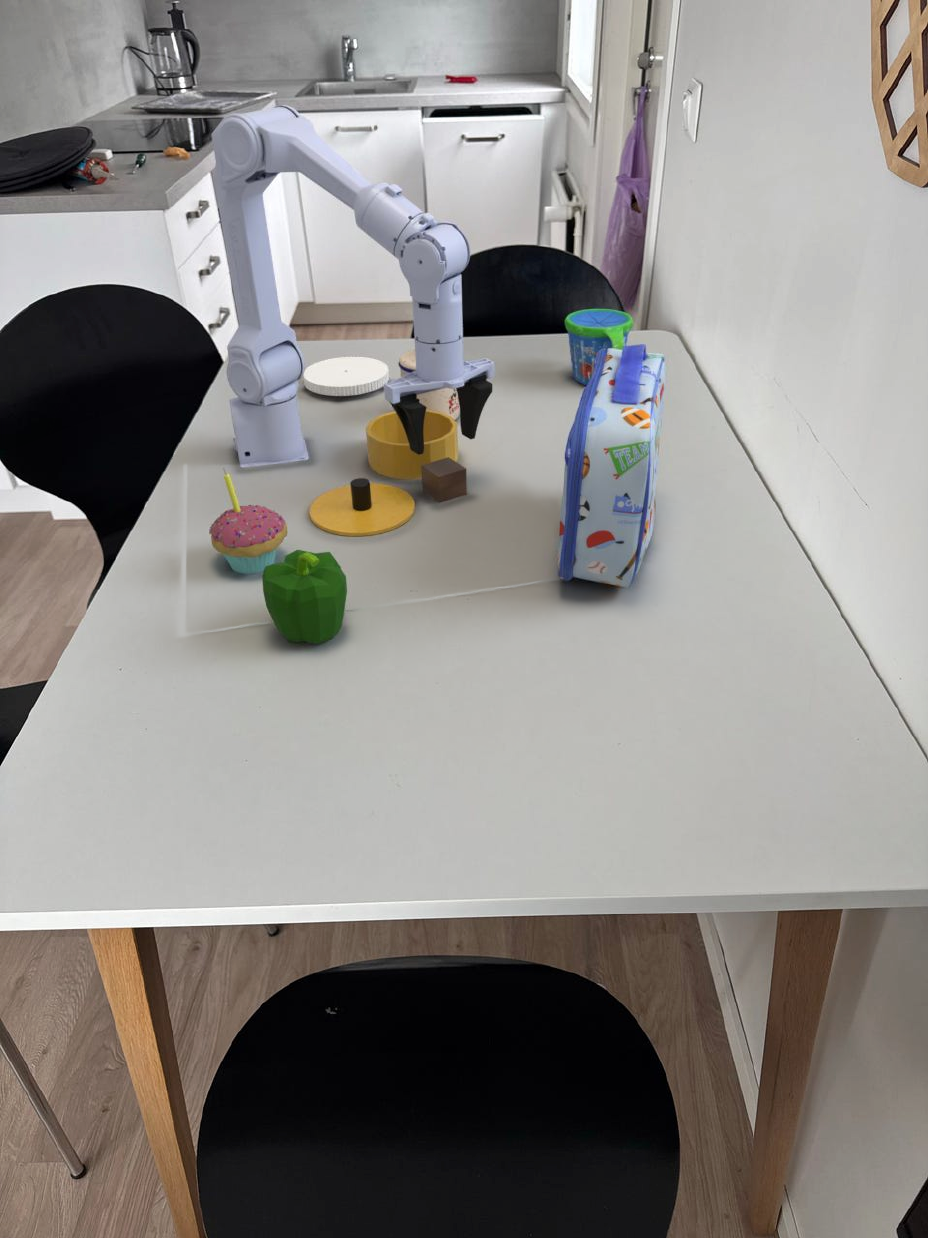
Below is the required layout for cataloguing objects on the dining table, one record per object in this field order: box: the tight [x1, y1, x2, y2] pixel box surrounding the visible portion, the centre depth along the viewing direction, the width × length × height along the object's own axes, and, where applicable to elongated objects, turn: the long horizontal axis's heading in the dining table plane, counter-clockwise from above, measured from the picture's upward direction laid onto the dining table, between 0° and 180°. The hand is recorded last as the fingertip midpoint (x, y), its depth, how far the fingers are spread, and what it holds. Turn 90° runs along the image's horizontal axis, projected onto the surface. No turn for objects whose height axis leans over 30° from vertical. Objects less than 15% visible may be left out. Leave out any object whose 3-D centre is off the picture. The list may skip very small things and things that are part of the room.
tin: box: [365, 410, 459, 480], centre depth 130 cm, size 12×12×5 cm
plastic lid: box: [302, 356, 390, 397], centre depth 156 cm, size 14×14×2 cm
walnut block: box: [421, 457, 468, 504], centre depth 122 cm, size 4×4×4 cm
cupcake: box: [208, 467, 288, 575], centre depth 106 cm, size 9×8×12 cm
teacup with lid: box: [398, 348, 460, 421], centre depth 143 cm, size 12×9×12 cm
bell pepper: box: [261, 549, 348, 645], centre depth 96 cm, size 8×8×10 cm
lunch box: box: [557, 343, 666, 589], centre depth 106 cm, size 28×10×22 cm, turn 168°
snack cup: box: [564, 308, 634, 386], centre depth 153 cm, size 16×10×10 cm
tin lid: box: [309, 477, 416, 537], centre depth 118 cm, size 13×13×4 cm
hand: (443, 443), depth 119 cm, fingers open, 7 cm apart
